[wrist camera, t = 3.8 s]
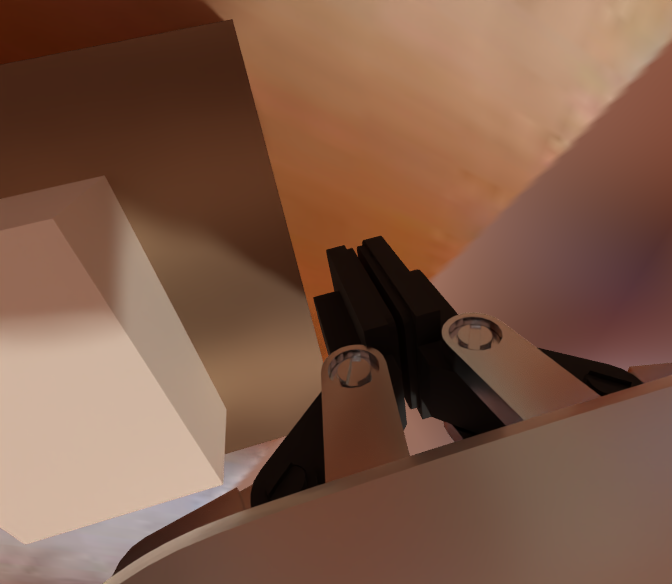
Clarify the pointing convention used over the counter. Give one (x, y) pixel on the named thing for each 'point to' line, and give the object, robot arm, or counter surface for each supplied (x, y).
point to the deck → (180, 201)
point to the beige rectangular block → (93, 370)
